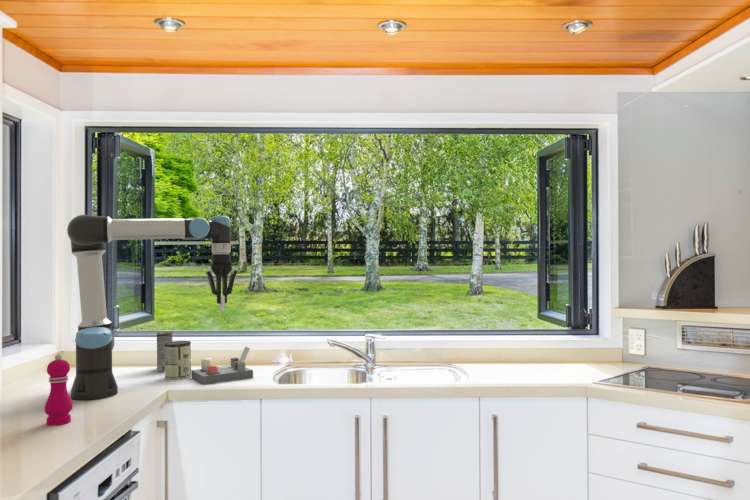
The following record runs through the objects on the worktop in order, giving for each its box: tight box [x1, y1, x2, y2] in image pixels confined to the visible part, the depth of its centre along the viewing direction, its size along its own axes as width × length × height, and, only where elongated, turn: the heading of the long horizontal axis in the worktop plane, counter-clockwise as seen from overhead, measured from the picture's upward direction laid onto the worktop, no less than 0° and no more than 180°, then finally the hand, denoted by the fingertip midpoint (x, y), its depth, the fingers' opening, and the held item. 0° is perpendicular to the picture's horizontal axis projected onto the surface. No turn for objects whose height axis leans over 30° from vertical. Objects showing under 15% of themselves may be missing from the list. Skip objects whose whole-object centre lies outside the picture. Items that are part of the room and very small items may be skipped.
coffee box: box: [156, 331, 174, 373], centre depth 253 cm, size 9×6×16 cm
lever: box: [236, 346, 251, 367], centre depth 234 cm, size 2×3×9 cm, turn 33°
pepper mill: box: [44, 353, 73, 426], centre depth 170 cm, size 7×7×20 cm
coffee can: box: [164, 340, 192, 380], centre depth 236 cm, size 10×10×14 cm
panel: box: [190, 361, 254, 385], centre depth 233 cm, size 20×16×6 cm
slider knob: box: [230, 357, 240, 366], centre depth 240 cm, size 2×3×3 cm
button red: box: [208, 364, 219, 375], centre depth 227 cm, size 4×4×5 cm
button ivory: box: [200, 357, 213, 372], centre depth 233 cm, size 4×4×5 cm
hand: (222, 311), depth 235 cm, fingers closed
